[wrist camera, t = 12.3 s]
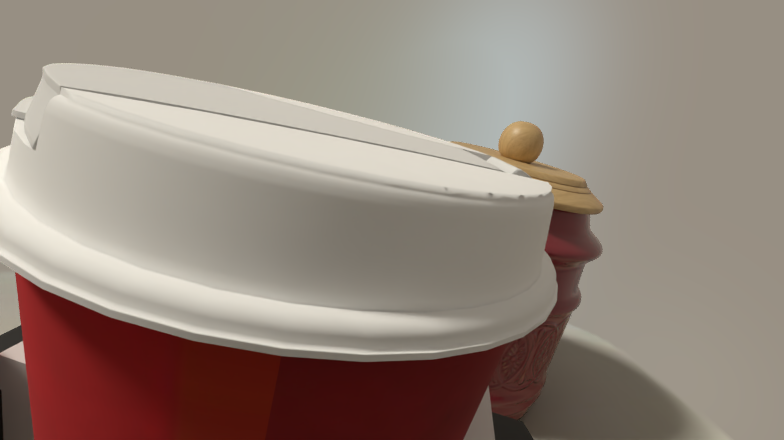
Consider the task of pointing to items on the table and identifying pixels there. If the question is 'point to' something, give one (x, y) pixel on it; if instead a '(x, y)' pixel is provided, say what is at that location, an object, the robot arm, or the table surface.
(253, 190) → the paper cup
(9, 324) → the table surface
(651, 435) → the table surface
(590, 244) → the canister
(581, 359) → the table surface
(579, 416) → the table surface
